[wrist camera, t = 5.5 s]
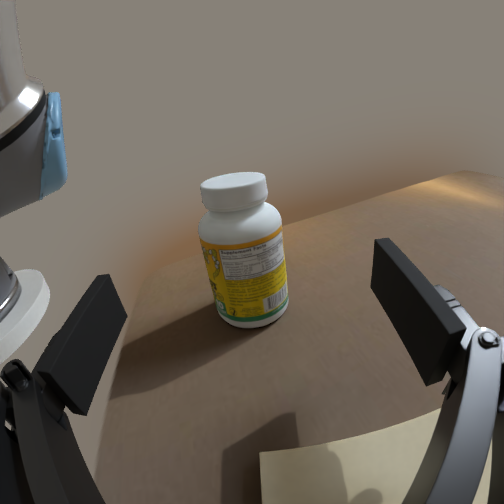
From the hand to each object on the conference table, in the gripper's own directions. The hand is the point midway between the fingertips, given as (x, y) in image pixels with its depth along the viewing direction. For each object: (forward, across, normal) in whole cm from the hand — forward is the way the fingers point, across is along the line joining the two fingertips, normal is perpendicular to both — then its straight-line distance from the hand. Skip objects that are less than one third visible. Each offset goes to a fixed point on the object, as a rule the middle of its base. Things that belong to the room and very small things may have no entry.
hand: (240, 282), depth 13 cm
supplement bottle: (+6, 0, -6) cm, 9 cm away
